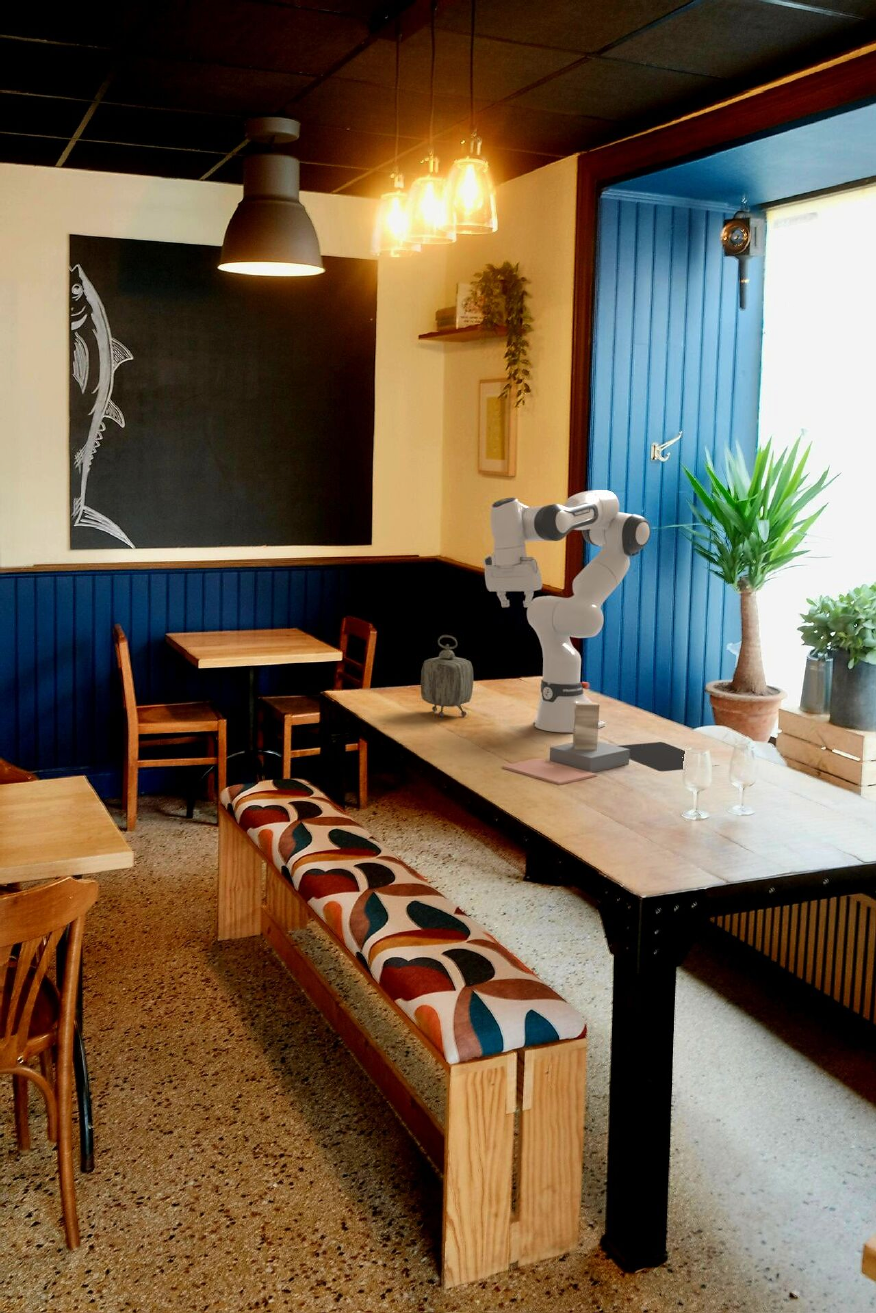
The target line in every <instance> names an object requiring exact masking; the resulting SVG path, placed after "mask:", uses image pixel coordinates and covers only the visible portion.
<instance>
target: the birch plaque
mask: <svg viewBox="0 0 876 1313" xmlns="http://www.w3.org/2000/svg"><path fill="white" fill-rule="evenodd" d="M599 720H600V704H599V703H598V702H593V703H579V702H575V711H574V729H573V733H572V743H573V748H574V749H592V750H597V741H599V740H598V737H599V736H598V735H599V728H598V723H599Z"/></svg>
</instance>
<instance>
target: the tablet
mask: <svg viewBox="0 0 876 1313" xmlns="http://www.w3.org/2000/svg"><path fill="white" fill-rule="evenodd" d="M618 746H619V747H623V748H627V749H630V755H629V760H631V761H634V762H636V763H638V764H640V765H643V766H645V765H646V767H648V768H650V769H653V770H656V771H659V772H670V771H680V770H684V769H683V761H684V754H685V751H686V750H684V749H682V748H679V747H676V746H674V745H671V744H668V743H666V742H665V741H664V742H663V741H657V742H645V743H633V744H622V745H618ZM682 757H683V758H682Z"/></svg>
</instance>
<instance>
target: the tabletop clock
mask: <svg viewBox="0 0 876 1313" xmlns="http://www.w3.org/2000/svg"><path fill="white" fill-rule="evenodd" d="M443 638H450V639H452V640H453V641H454V642H455V645H454V646H450V644H448V643H447V644H445V645H442V644H441V643H440V640H442V639H443ZM437 644H438V646H439V647H441V648H442V649H443V650H441V651H440V652H439V655H438V656H437V657H433V658H428V659H426V660H424V662H423V663H422V667H421V674H420V696H421V699H422V700H423V701H424V702H426V703H428V704H430V705H434V706H432V708H431V709H432V711H433V712H437V710H438V707H437V706H439V707H440V711H439V712H438V716H439V717H443V716H444V711H443V710H444V708H445V707H448V708H453V707H457V708H458V709H459V710H460V711H461V713H460V715H461V716H462V717H465V716H466V715H467V711H465V710H463V708H462V706H461V705H464V704H467V703H470V701H471V699H472V696H473V689H474V668H473V665H472V664H473V663H472V662H471V661H470V660H469V659H468V660H467V659H466V658H462V657H457V656H456V655H455V654H456V653H454V651H453V649H455V648H457V646H458V641H457V638H456V637H454V636H452V635H448V634H443V635H440V637H438V639H437Z"/></svg>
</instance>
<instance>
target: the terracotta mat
mask: <svg viewBox="0 0 876 1313" xmlns="http://www.w3.org/2000/svg"><path fill="white" fill-rule="evenodd" d="M501 768H502V769H505V770H508V771H511V772H514V773H517V774H518V773H519V774H522V775H524V776H528V777H532V778H535V779H539V780H542V781H545V782H549V783H552V784H555V785H558V786H562V785H565V784H570V783H574V782H577V781H578V782H579V781H582V780H586V779H590V778H594V777H597V775H598V774H597V773H596V772H592V773H591V772H588V771H584V770H581V769H577V768H573V767H570V766H566V765H563V764H559V763H555V762H552V761H550V760H548V759H544V758H540V757H536V758H532V759H527V760H523V761H519V762H513V763H508V764H504V765H501Z"/></svg>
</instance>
